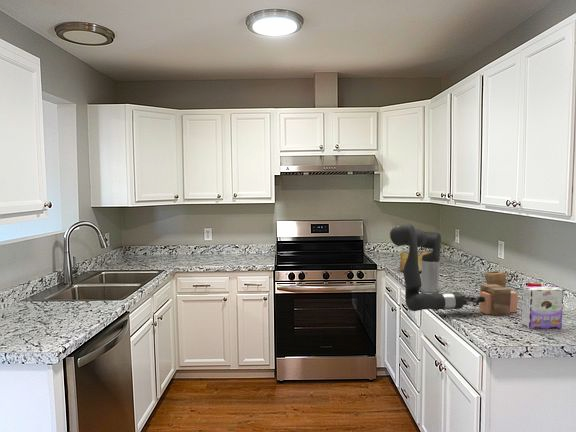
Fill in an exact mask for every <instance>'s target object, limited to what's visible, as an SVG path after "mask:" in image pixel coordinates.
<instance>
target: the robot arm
mask: <svg viewBox="0 0 576 432" xmlns="http://www.w3.org/2000/svg"><path fill="white" fill-rule="evenodd" d="M389 237H390V240H391V242H392V243H393V244H394V245H395V246H397V247H401V246H407V247H409V248H408V249H409V251H408V254H409V255H408V258H407V260H406V263H405V266H404V271H402V272H403V278H404V284H405V295H404V296H405V304H406V307H407V309H408V310H410V311H411V312H418V311H423V310H435V311H436V310H460V309H462V308H463V307H464V306H469V305H472V307H477V306H479V305H480V302H484V301H485V298H484V297H482V296H480V295H479V296H476V295H471V294H464V293H463V294H462V293H461V292H458V291H450V292H439V281H440V279H439V278H440V257H441V245H442V235H441V234H440V233H439V232H433V231H431V232H430V231H424V230H422V229H419V228H415V227H414V225H413V224H412V223H406V224H403V225H399V226H395V227H392V229H391V230H390V232H389ZM419 248H423V249H432V250H431V253H429V254H425V255H423V256H422V271H421V273H420V272H419V266H418V255H419V253H418V252H419V250H418V249H419ZM420 291H421V292H423V293H420Z"/></svg>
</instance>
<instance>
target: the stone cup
mask: <svg viewBox="0 0 576 432" xmlns="http://www.w3.org/2000/svg"><path fill="white" fill-rule="evenodd" d="M484 279H485V282H486V284H497V285H500V286H503V287H506V285H507V275H506V272H505V271H500V270H493V271H491V270H490V271H486V272H485V274H484Z"/></svg>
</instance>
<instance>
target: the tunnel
mask: <svg viewBox="0 0 576 432" xmlns="http://www.w3.org/2000/svg"><path fill="white" fill-rule="evenodd" d="M485 291H488V292H491V293H492V311H491V314H490V315H492V316H493V317H495V316H496V317H501V316H511V312H510V301H511V291H512V289H511V288H509V287H506V286H505V287H503V286H500V285H497V284H487V283H485V284H480V290H479V293H480V292H485Z"/></svg>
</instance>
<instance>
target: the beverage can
mask: <svg viewBox="0 0 576 432" xmlns="http://www.w3.org/2000/svg"><path fill="white" fill-rule="evenodd" d="M526 287H543V286H542V283H541V282H539V281H535V280H534V281H533V280H529V281H528V282H527V284H526Z"/></svg>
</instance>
